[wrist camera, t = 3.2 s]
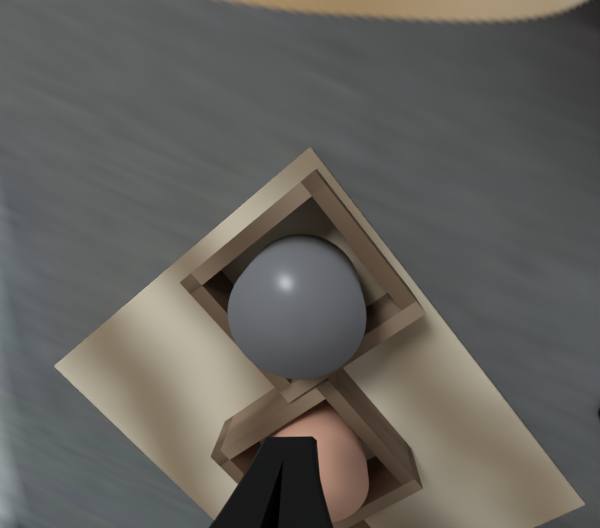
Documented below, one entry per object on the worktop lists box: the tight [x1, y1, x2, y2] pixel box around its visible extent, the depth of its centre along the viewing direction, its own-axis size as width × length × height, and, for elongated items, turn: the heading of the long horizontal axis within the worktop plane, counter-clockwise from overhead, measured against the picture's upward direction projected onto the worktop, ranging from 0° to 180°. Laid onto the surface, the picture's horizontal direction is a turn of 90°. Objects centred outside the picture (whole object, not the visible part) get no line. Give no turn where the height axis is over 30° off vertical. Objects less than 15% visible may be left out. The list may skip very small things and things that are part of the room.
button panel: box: [54, 147, 585, 528], centre depth 17 cm, size 16×21×3 cm
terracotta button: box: [270, 399, 369, 523], centre depth 16 cm, size 4×4×3 cm
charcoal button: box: [228, 234, 366, 379], centre depth 13 cm, size 4×4×3 cm
